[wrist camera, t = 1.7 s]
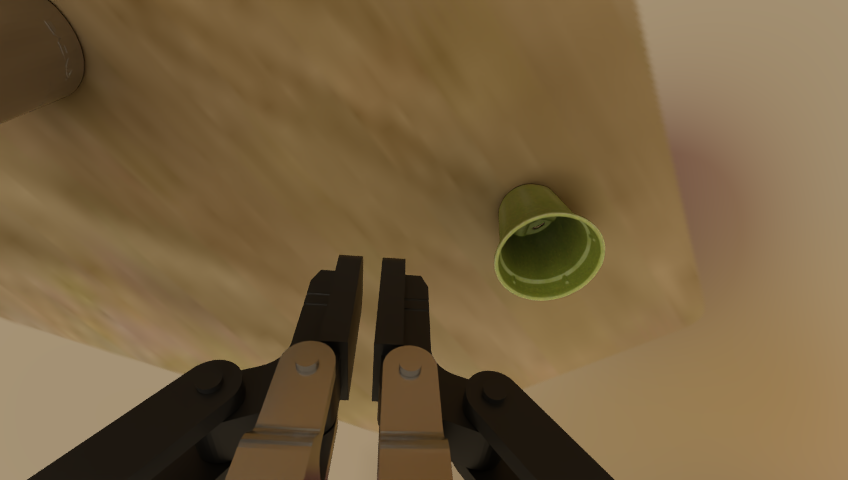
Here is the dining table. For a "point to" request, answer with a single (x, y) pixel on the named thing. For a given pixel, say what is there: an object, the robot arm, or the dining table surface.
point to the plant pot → (544, 245)
